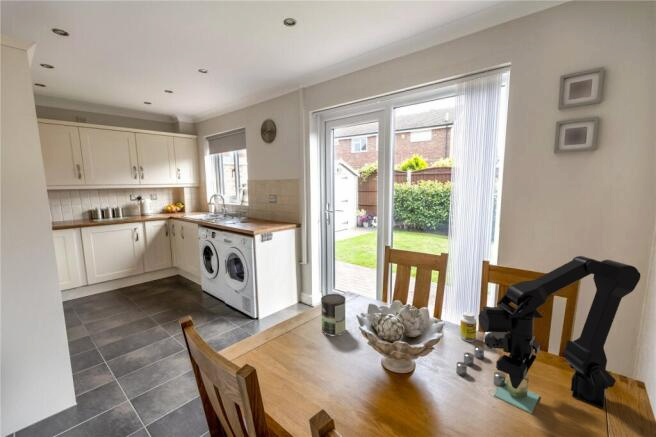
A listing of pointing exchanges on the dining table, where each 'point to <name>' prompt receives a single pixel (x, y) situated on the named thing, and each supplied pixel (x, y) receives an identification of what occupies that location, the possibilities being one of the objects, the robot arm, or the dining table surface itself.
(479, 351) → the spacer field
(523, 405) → the mat
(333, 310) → the coffee can
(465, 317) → the supplement bottle
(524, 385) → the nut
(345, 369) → the dining table surface
